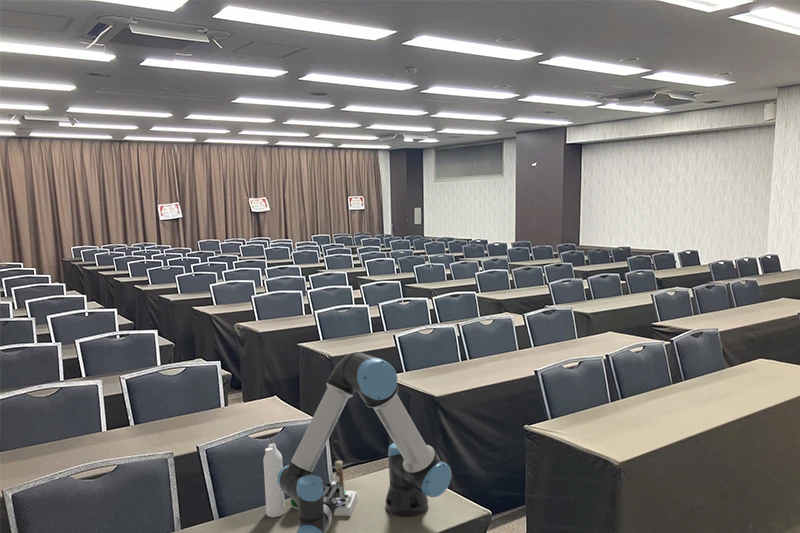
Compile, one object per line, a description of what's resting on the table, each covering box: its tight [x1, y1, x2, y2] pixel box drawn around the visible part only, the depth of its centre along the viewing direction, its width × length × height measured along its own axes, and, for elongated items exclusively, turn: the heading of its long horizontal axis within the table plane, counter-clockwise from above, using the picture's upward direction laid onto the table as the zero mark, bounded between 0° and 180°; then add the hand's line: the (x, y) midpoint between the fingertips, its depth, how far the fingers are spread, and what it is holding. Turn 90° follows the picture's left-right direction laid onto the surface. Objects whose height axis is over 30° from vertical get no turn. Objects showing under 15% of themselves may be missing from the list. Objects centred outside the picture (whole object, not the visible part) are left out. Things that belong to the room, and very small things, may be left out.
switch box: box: [333, 490, 358, 517], centre depth 203 cm, size 9×12×5 cm
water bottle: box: [262, 442, 286, 518], centre depth 199 cm, size 9×6×25 cm
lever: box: [334, 460, 348, 498], centre depth 202 cm, size 5×3×14 cm, turn 83°
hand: (337, 479), depth 200 cm, fingers closed
